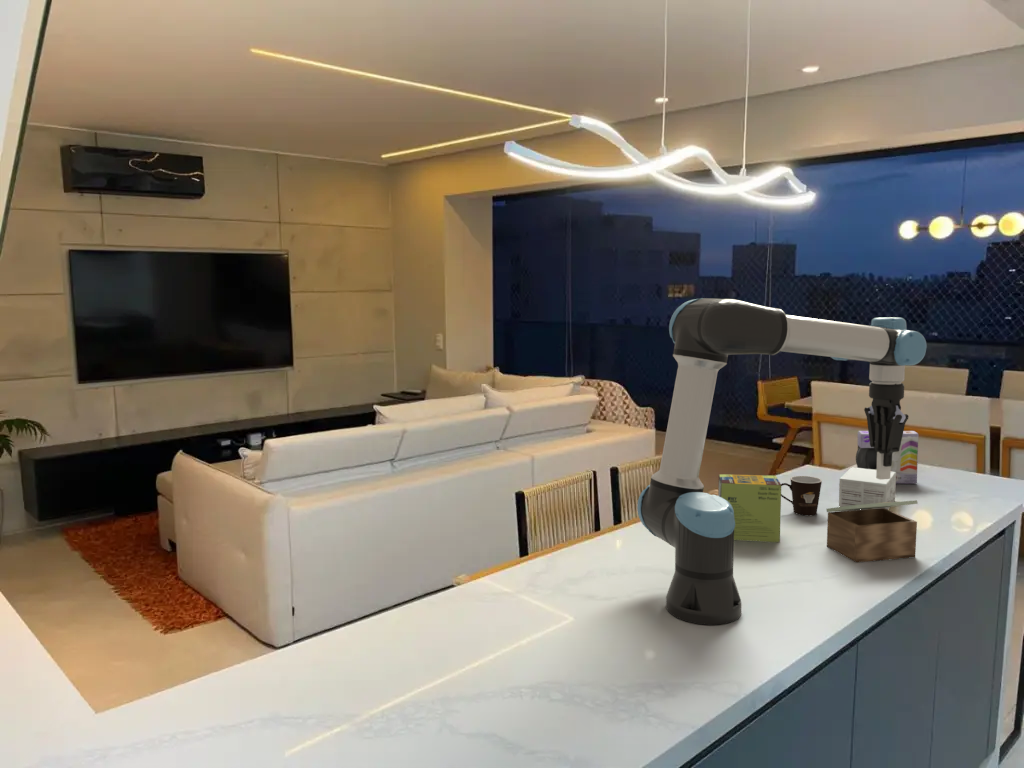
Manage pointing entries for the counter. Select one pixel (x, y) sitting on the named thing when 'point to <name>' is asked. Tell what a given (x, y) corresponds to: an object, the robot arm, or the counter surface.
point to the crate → (871, 534)
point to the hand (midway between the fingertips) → (883, 478)
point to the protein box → (753, 505)
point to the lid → (872, 506)
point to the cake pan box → (901, 460)
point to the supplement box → (865, 488)
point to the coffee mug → (804, 494)
